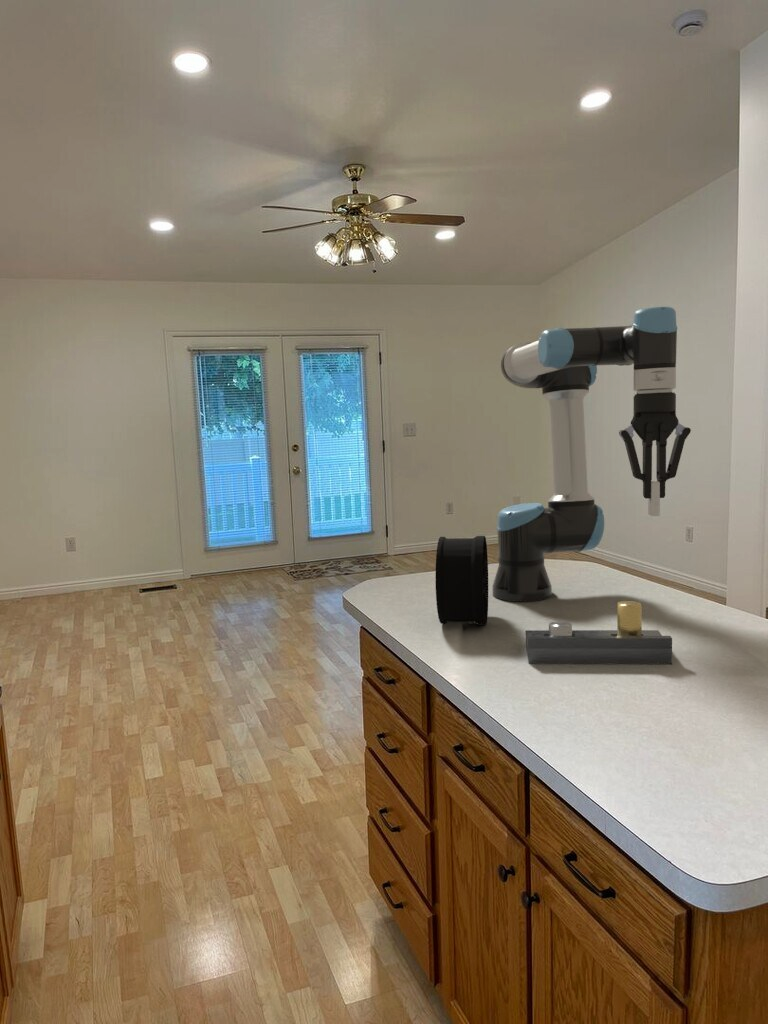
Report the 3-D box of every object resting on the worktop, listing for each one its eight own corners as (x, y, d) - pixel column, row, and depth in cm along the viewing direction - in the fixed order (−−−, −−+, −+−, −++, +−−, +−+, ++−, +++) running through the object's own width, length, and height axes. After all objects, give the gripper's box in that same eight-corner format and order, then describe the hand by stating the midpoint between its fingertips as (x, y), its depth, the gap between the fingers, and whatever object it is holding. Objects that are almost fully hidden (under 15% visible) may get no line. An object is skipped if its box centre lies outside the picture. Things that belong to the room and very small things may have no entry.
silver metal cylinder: (548, 650, 141) (547, 621, 140) (570, 650, 140) (570, 621, 139) (550, 657, 136) (549, 628, 135) (573, 657, 136) (573, 627, 135)
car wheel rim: (484, 636, 151) (481, 545, 148) (437, 635, 153) (433, 545, 150) (489, 610, 170) (486, 528, 167) (447, 609, 172) (444, 529, 170)
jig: (525, 644, 144) (525, 621, 144) (658, 644, 140) (658, 620, 140) (528, 663, 134) (528, 638, 133) (671, 664, 130) (672, 638, 129)
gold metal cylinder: (615, 650, 139) (615, 601, 137) (638, 650, 138) (638, 600, 136) (619, 658, 134) (619, 607, 133) (643, 658, 134) (643, 607, 132)
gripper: (622, 393, 130) (622, 518, 134) (696, 389, 128) (694, 517, 132) (615, 394, 138) (615, 513, 141) (685, 390, 136) (684, 511, 139)
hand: (653, 514), depth 136 cm, fingers closed
